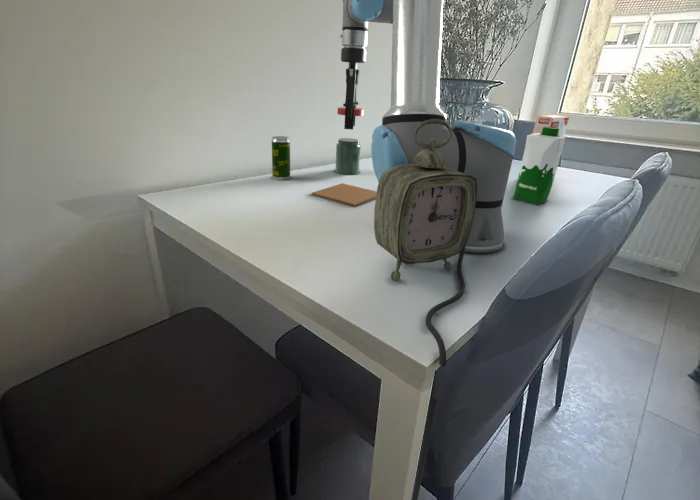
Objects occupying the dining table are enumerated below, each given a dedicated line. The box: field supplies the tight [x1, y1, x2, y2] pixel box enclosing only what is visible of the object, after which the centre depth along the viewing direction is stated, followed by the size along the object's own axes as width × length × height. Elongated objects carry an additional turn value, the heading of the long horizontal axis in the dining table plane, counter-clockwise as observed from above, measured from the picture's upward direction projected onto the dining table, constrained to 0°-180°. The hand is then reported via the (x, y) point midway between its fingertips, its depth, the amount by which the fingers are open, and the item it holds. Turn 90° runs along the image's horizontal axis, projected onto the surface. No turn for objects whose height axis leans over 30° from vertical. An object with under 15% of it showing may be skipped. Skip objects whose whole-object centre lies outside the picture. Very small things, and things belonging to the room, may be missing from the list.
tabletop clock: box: [373, 119, 477, 282], centre depth 63 cm, size 14×9×25 cm, turn 115°
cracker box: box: [532, 114, 570, 137], centre depth 137 cm, size 14×6×21 cm, turn 132°
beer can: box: [271, 135, 291, 181], centre depth 117 cm, size 5×5×12 cm
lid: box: [336, 106, 365, 117], centre depth 123 cm, size 8×8×2 cm
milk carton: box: [512, 127, 566, 206], centre depth 109 cm, size 9×9×20 cm
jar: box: [334, 137, 362, 176], centre depth 129 cm, size 8×8×10 cm
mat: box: [311, 182, 377, 207], centre depth 106 cm, size 14×14×1 cm
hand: (349, 127), depth 125 cm, fingers closed on lid, 8 cm apart
